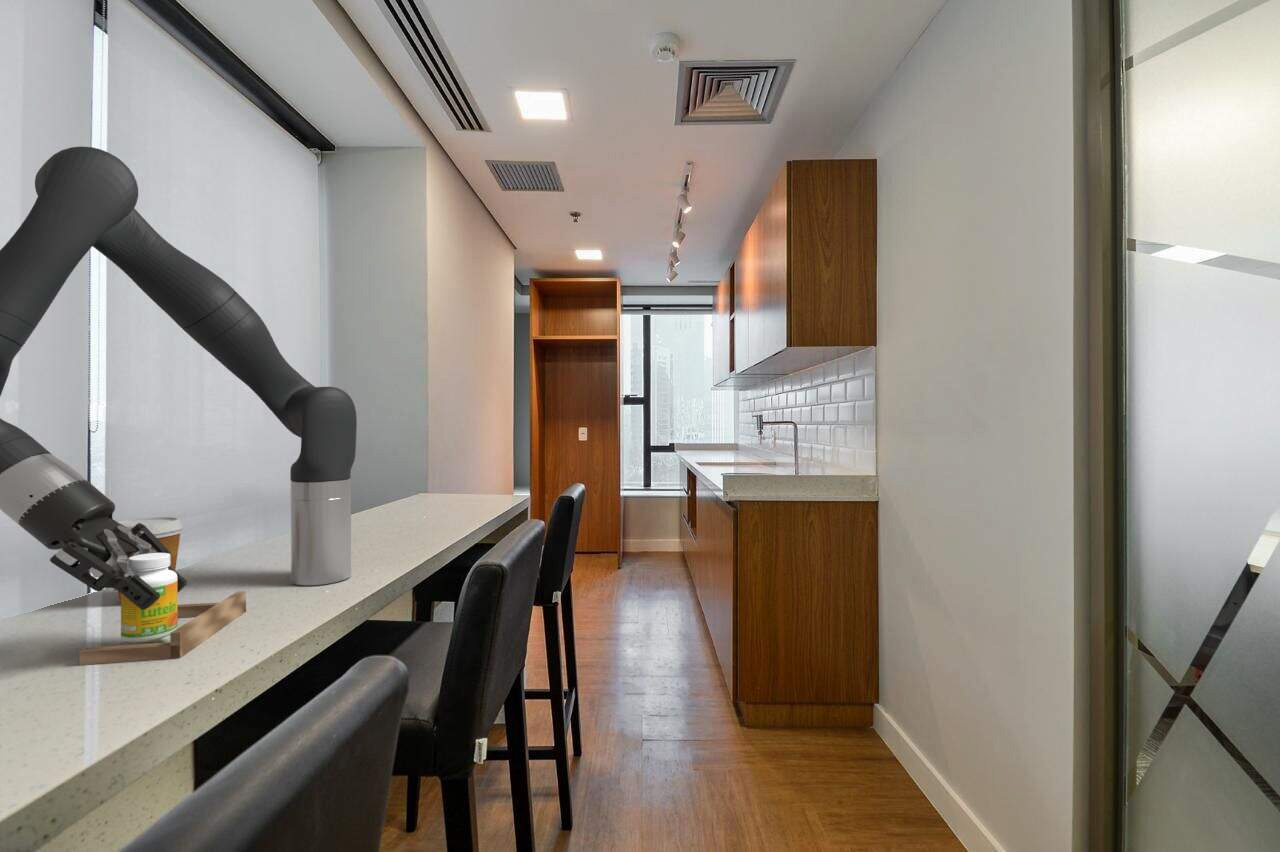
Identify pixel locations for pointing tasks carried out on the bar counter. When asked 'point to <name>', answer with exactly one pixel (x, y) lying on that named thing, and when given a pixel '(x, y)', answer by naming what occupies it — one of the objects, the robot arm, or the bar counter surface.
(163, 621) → the supplement bottle
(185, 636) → the bay
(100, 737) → the bar counter surface
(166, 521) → the disposable coffee cup
